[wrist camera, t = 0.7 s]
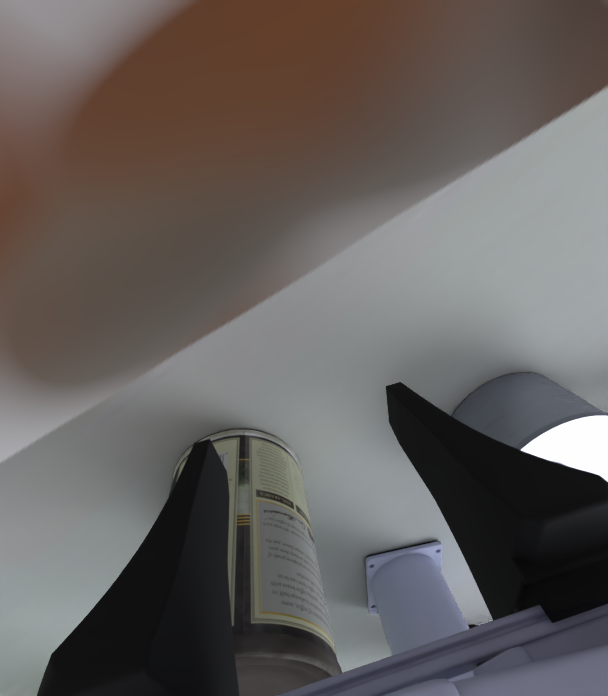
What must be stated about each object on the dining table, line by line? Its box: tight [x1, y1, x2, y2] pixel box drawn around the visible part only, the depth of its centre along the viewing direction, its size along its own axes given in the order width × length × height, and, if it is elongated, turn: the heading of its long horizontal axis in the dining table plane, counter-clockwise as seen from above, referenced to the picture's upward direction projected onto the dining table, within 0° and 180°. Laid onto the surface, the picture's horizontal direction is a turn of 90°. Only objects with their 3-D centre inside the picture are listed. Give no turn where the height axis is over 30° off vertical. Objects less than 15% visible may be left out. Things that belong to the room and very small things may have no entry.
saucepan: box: [452, 372, 608, 481], centre depth 27 cm, size 12×22×8 cm, turn 96°
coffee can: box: [169, 429, 342, 696], centre depth 21 cm, size 10×10×14 cm
